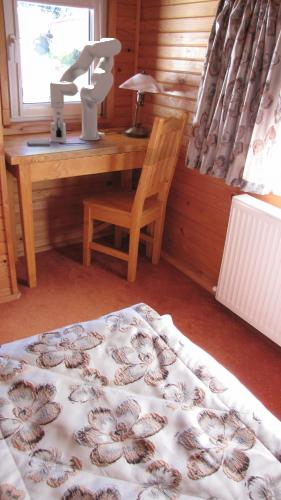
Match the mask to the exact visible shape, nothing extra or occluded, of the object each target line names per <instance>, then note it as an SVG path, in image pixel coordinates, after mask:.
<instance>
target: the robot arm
mask: <svg viewBox="0 0 281 500" xmlns="http://www.w3.org/2000/svg"><path fill="white" fill-rule="evenodd" d="M120 41H121V40H118V38H113V37H112V38H109V37H107V38H106V37H103V38H101V39H100V41H94V40H93V41H90V40H89V41H87V42H86V43H85V44H84V45H83V47H82V49H81V50H80V53H79V54H78V56H77V58H76V60H75V61H74V63H73V64H72V65H71V66H69V67H68V69H66V71H65V72H64V73H63V74H62V76H61V77H60V80H59V81H52V82H50V83H49V90H50V92H49V94H50V107H51V109H52V112H53V113H52V115H53V122H54V123H55V125H56V129H57V130H56V137H62V130H61V125H62V126H63V123H64V113H63V112H64V110H63V109H65V99H64V98H65V97H64V96H66V97H74V96H75V95H77V94H78V91H79V87H78V86H77V84H76V83H74V81H75V80H76V79H78V78H79V77H81V76H82V75H85V74H86V73H87V72H88V71H89V70H90V67H91V66H92V64H93V62H94V60H95V59H99V61H98V63H97V65H96V66H95V68H94V70H93V71H92V74H91V75H90V82H91V84H86V85H83V86H82V87H81V88H80V92H79V96H80V105H81V135H79V139H80V140H84V141H97V140H100V136H101V137H105V132H99V131H98V106H97V105H98V104H101V103H102V102H104V100H105V98H106V97H107V95H108V94H109V92H110V90H111V89H112V86H113V84H114V75H113V73H112V69H113V67H114V63H115V62H114V61H115V60H114V56H116V55H119V53H121V51H122V43H121V42H120ZM57 124H58V125H57Z"/></svg>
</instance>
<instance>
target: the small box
mask: <svg viewBox="0 0 281 500" xmlns="http://www.w3.org/2000/svg"><path fill="white" fill-rule="evenodd" d="M57 125H58V124H57ZM66 125H67V124H66V123H65V122H63V126H62V125H61V130H62V137H56V130H57V129H56V125H55V123H54V121H53V122H51V123H50V124H49V127H50V140H51V141H50V143H51V142H52V143H65V142H67V133H66V132H67V129H66V128H67V126H66Z"/></svg>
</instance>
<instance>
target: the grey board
mask: <svg viewBox="0 0 281 500" xmlns="http://www.w3.org/2000/svg"><path fill="white" fill-rule="evenodd" d="M27 143H28V145H27V146H28V147H51V141H50V139H49V138H48V139H47V138H28V139H27Z"/></svg>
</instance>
